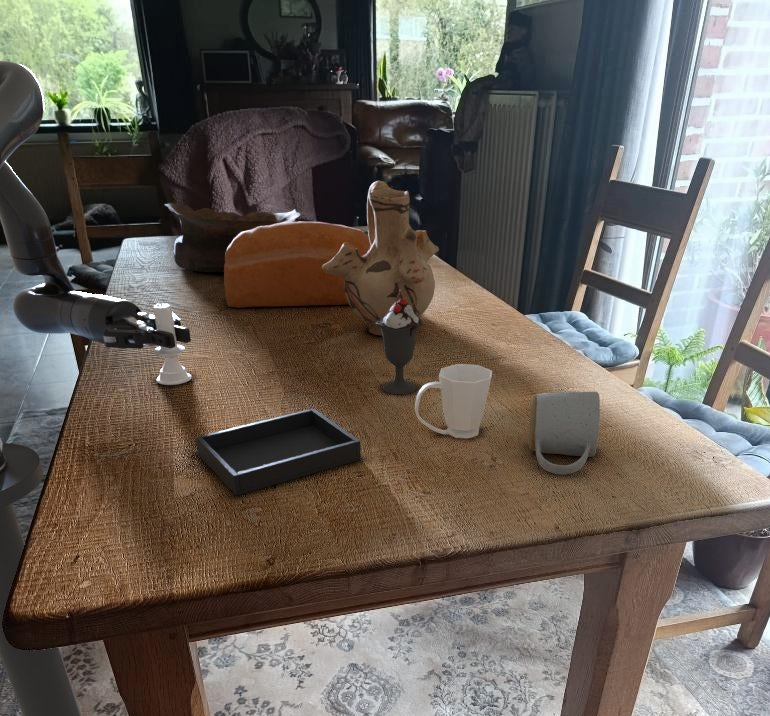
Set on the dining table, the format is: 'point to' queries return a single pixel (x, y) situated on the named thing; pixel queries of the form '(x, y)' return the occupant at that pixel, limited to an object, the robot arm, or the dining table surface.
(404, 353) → the sundae
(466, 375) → the cup
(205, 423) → the dining table surface
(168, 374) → the candle
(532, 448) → the ceramic mug
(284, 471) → the tray
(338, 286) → the bread
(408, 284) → the ceramic vessel
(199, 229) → the bowl
